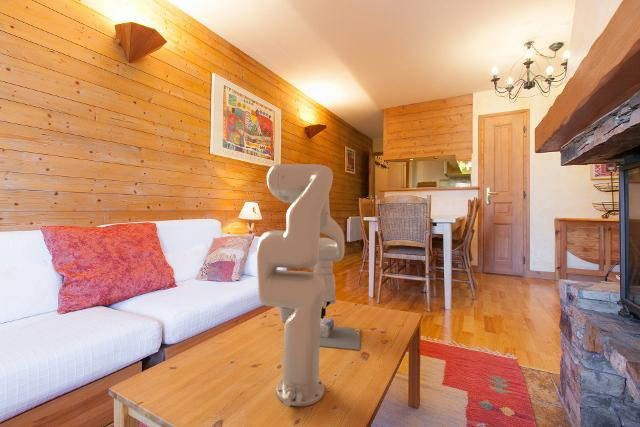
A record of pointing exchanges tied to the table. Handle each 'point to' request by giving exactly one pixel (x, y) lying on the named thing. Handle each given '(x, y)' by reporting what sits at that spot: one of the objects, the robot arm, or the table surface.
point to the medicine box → (326, 327)
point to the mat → (342, 339)
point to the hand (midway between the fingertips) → (321, 317)
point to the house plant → (285, 313)
